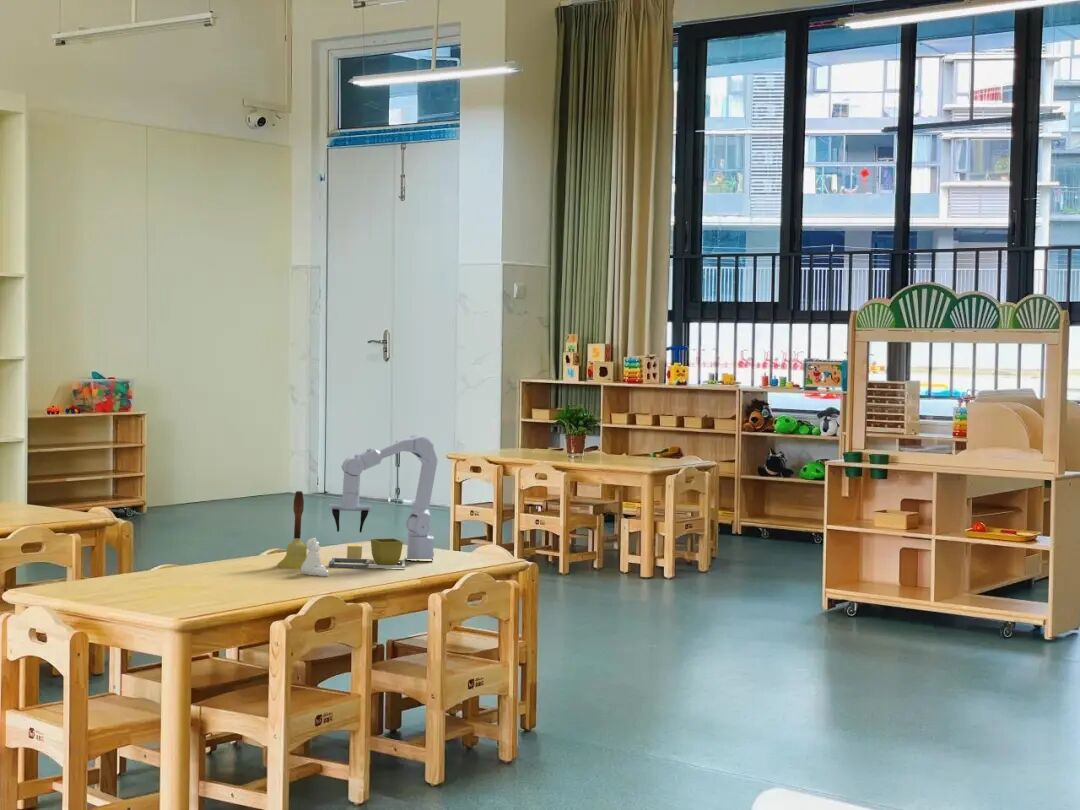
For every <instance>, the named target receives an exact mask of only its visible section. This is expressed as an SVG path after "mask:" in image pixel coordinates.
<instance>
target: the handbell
mask: <svg viewBox="0 0 1080 810" xmlns="http://www.w3.org/2000/svg"><path fill="white" fill-rule="evenodd" d="M304 499H305V498H304V492H303V491H302V490H297V491H295V495H294V499H293V514H294V526H293V527H294V529H293V530H294V531H293V540H292V541H291V542H289V543H288V544H287V546H286V554H285V556H284V557H283V559H281V560H280V561H279V562H278V563H277V567H281V568H285V569H301V566H302V564H303V562H304V561H305V560H306V557H307V554H308V552H307V551H308V548H307V545H306V543H305V542H303V541H302V540H301V539H302V538H301V533H302V531H301V529H302V515H303V512H304V507H305V505H304V504H305V500H304Z"/></svg>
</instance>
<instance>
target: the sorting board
mask: <svg viewBox="0 0 1080 810" xmlns="http://www.w3.org/2000/svg"><path fill="white" fill-rule="evenodd" d="M335 561H341V562H340V563H336V562H335ZM355 562H367V563H360V564H358V563H355ZM370 562H375V561H374V559H373V558H362V559H353V558H347V557H345V558H344V557H331V559H330V563H329V568H332V567H355V568H354V569H363V568H405V569H406V565H405V564H406V559H405V560H404V559H399V561H398V562H400V563H402V564H401V565H396V566H395V565H376V564H371V563H370ZM369 564H370V565H369Z"/></svg>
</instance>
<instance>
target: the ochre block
mask: <svg viewBox="0 0 1080 810" xmlns="http://www.w3.org/2000/svg"><path fill="white" fill-rule="evenodd" d="M346 549H347V550H346V558H353V559H361V558H362V559H363V557H362V555H363V544H361V543H360V544H359V543H358V544H356V543H348V544H347V548H346Z"/></svg>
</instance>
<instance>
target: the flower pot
mask: <svg viewBox="0 0 1080 810" xmlns="http://www.w3.org/2000/svg"><path fill="white" fill-rule="evenodd" d="M403 542H404V541H401V540H399V539H396V538H392V537H391V538H370V546H371V555H372V559H374V561H375V563H374V564H375V565H376V564H377V565H395V566H397V565H398V564H397V563H398V561H399V560H401V557H402V556H401V555H402V550H403V544H404V543H403Z"/></svg>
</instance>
